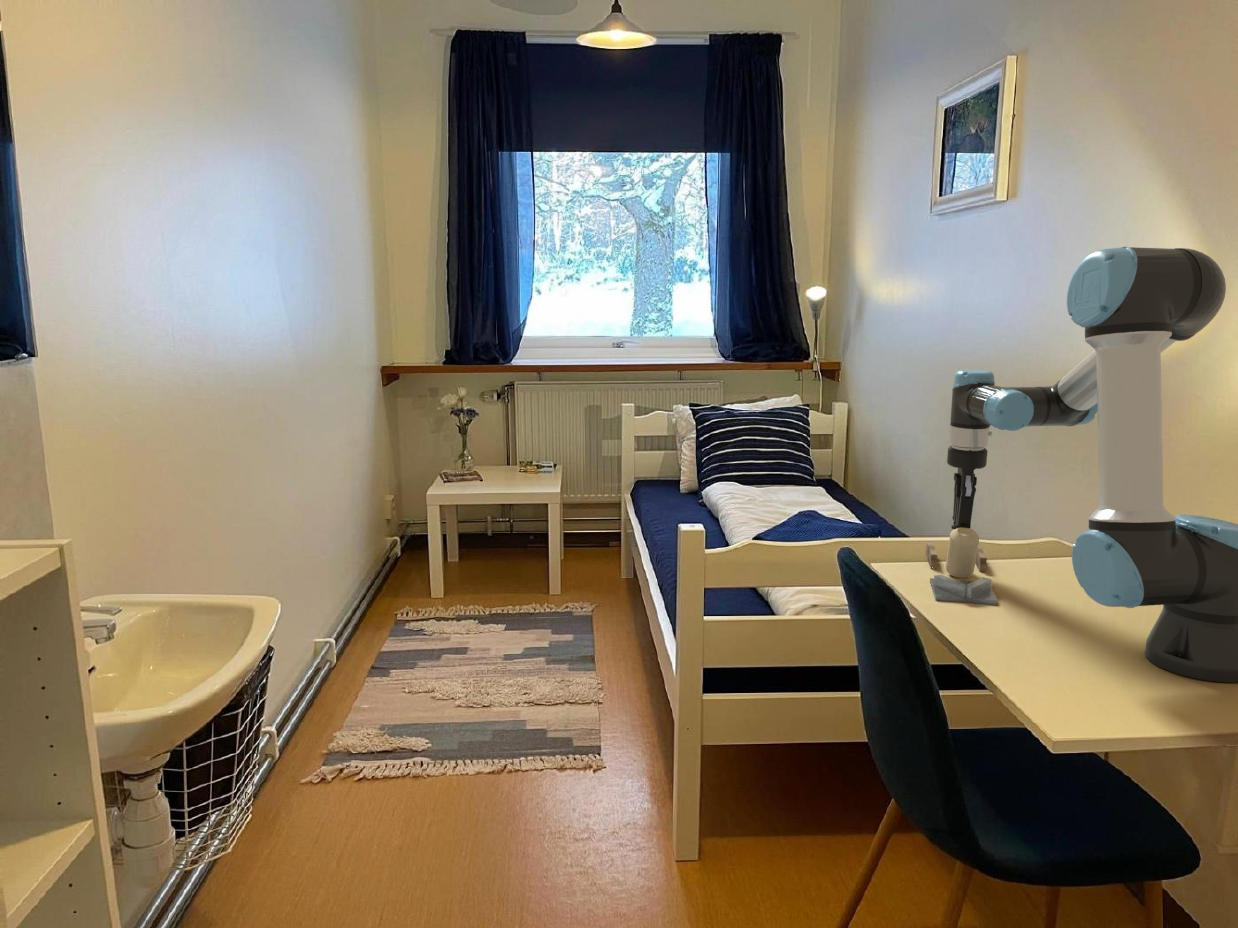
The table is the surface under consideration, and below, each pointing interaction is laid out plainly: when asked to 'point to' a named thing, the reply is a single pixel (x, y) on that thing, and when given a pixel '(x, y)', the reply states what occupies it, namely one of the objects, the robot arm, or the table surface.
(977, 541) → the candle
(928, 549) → the channel
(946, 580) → the v block
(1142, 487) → the robot arm
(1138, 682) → the table surface
